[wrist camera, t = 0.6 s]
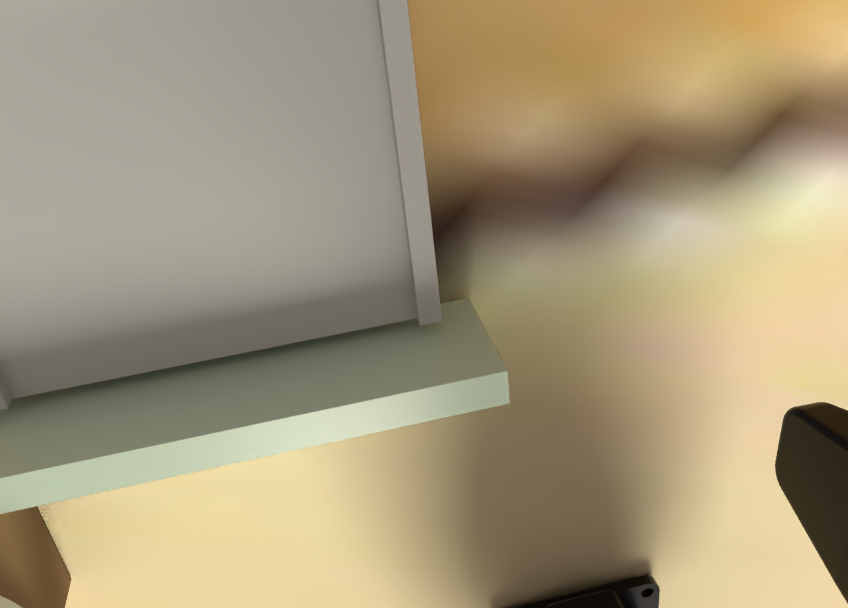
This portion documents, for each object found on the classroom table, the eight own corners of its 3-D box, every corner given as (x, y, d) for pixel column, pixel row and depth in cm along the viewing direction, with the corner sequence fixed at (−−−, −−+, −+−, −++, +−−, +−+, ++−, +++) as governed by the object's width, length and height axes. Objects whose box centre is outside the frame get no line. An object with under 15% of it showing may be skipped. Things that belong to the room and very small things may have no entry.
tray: (471, 327, 23) (509, 403, 20) (-24, 428, 21) (-71, 529, 18) (420, -244, 16) (467, -272, 13) (-319, -165, 14) (-480, -172, 11)
